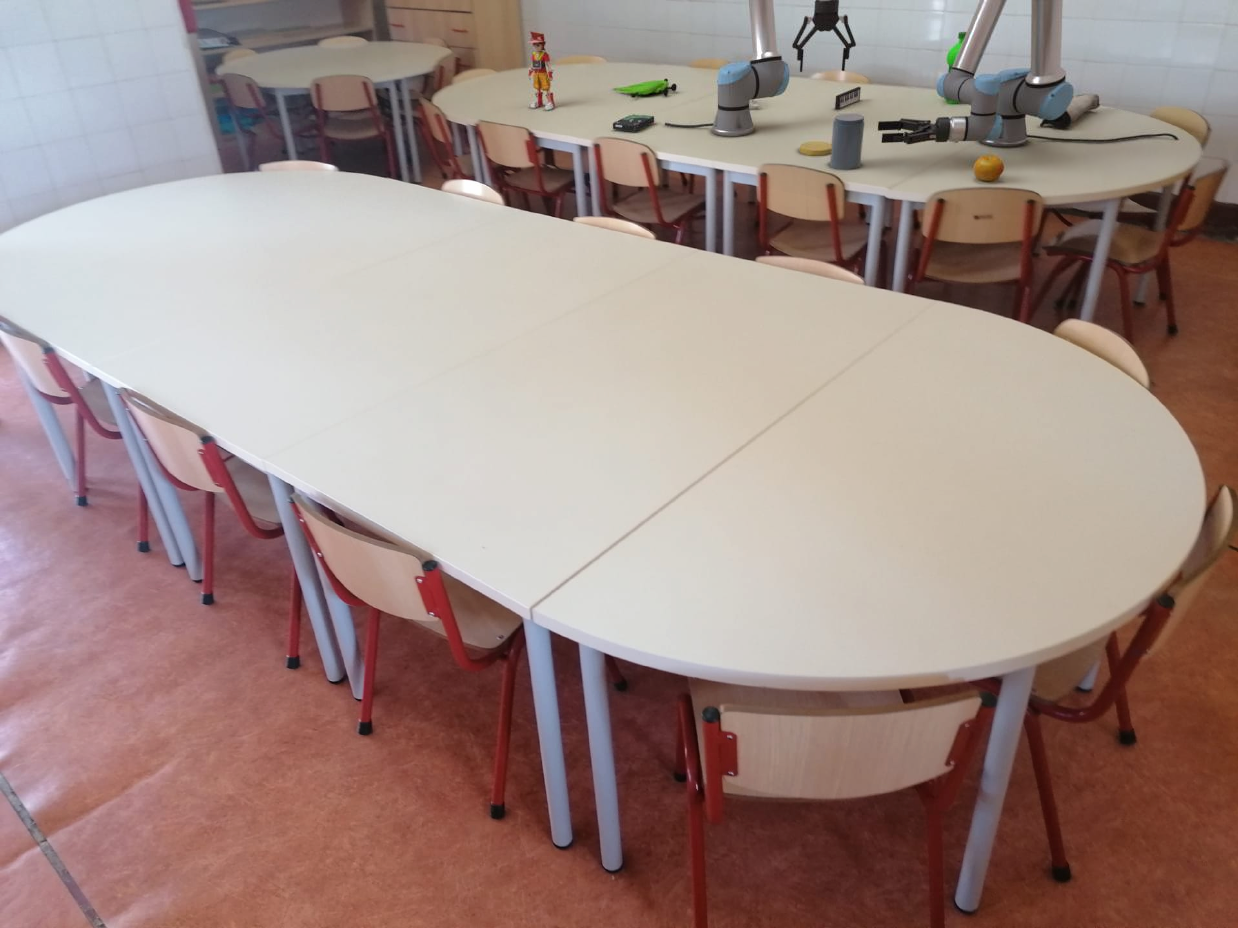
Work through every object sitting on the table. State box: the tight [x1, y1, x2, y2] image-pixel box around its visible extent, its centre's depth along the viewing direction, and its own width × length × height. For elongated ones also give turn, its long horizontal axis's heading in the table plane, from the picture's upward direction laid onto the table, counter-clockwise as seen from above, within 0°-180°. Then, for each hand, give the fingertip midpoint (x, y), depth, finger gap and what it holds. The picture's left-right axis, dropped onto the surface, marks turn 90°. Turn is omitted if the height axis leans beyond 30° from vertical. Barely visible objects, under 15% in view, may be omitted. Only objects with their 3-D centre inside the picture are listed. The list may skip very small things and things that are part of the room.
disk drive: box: [612, 114, 655, 133], centre depth 348 cm, size 10×3×15 cm
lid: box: [799, 141, 832, 156], centre depth 310 cm, size 11×11×2 cm
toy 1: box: [527, 31, 556, 111], centre depth 374 cm, size 12×9×30 cm
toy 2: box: [612, 78, 677, 99], centre depth 396 cm, size 28×5×30 cm
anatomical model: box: [749, 99, 760, 109], centre depth 364 cm, size 15×10×10 cm
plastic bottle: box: [943, 31, 967, 104], centre depth 348 cm, size 10×10×25 cm
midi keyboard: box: [834, 86, 862, 110], centre depth 359 cm, size 18×1×5 cm, turn 138°
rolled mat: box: [1039, 93, 1101, 130], centre depth 325 cm, size 30×9×10 cm
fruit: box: [973, 154, 1005, 182], centre depth 274 cm, size 8×8×8 cm
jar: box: [829, 112, 866, 170], centre depth 292 cm, size 10×10×15 cm
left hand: (821, 70), depth 296 cm, fingers open, 13 cm apart
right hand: (879, 132), depth 288 cm, fingers open, 13 cm apart
